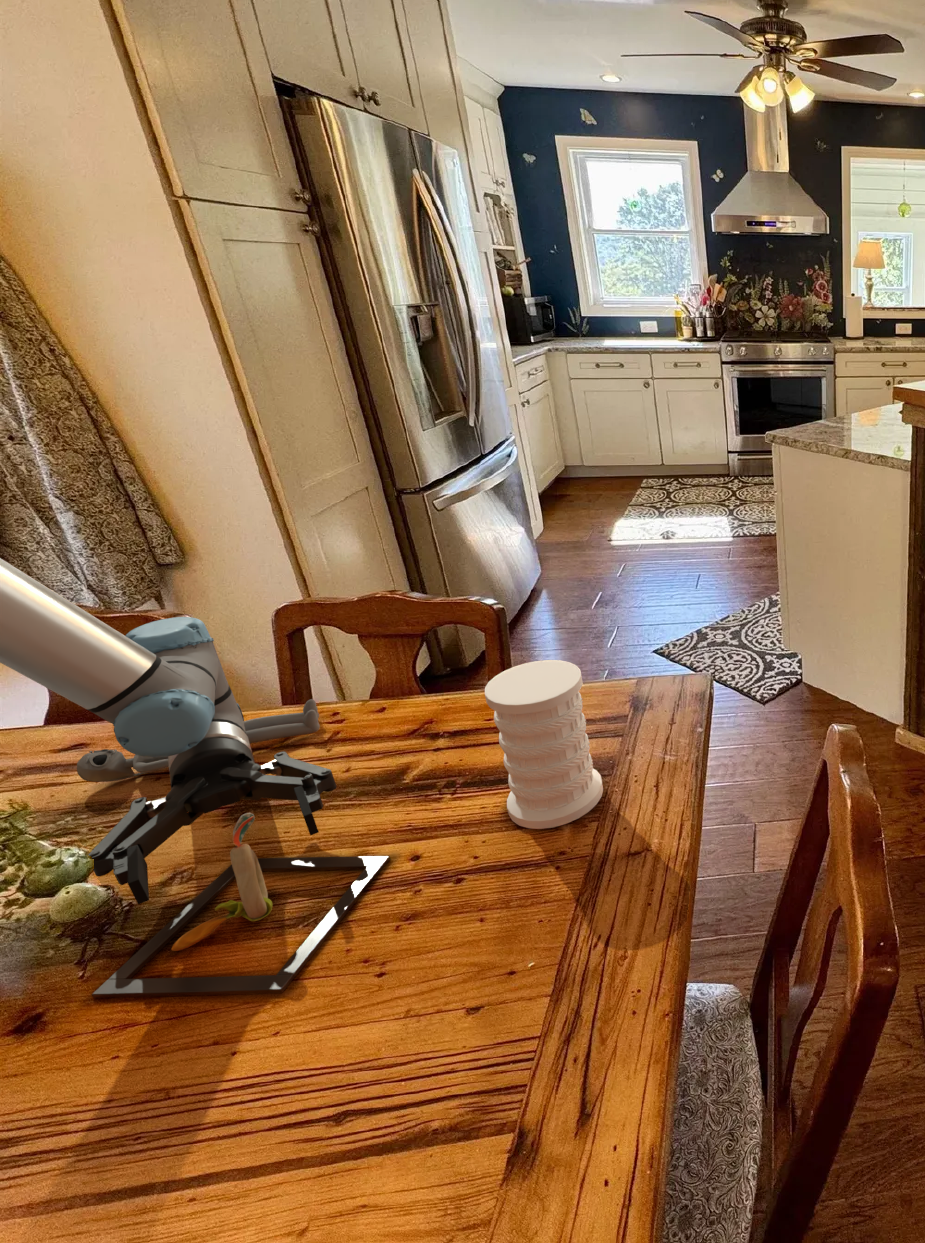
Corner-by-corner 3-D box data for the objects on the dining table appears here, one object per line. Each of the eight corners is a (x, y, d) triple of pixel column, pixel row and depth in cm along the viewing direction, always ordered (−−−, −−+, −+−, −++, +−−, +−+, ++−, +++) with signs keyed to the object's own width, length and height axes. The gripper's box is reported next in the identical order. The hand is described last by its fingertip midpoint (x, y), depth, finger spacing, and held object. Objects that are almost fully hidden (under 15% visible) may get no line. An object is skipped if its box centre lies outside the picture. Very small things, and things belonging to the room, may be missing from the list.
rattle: (198, 904, 77) (160, 821, 73) (292, 881, 80) (260, 799, 76) (170, 959, 71) (125, 872, 66) (272, 931, 74) (236, 846, 70)
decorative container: (488, 811, 91) (458, 691, 85) (561, 761, 101) (540, 650, 94) (551, 840, 87) (526, 716, 80) (622, 786, 97) (604, 671, 90)
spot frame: (93, 998, 67) (91, 994, 67) (239, 861, 83) (237, 858, 82) (282, 993, 68) (280, 989, 68) (390, 858, 84) (389, 855, 83)
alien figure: (314, 711, 104) (63, 771, 89) (322, 740, 105) (77, 803, 90) (313, 690, 110) (78, 743, 95) (321, 718, 111) (91, 774, 96)
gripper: (343, 747, 97) (380, 826, 83) (77, 838, 81) (69, 954, 67) (327, 700, 94) (363, 774, 80) (49, 784, 78) (34, 895, 64)
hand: (230, 856), depth 74 cm, fingers open, 13 cm apart
